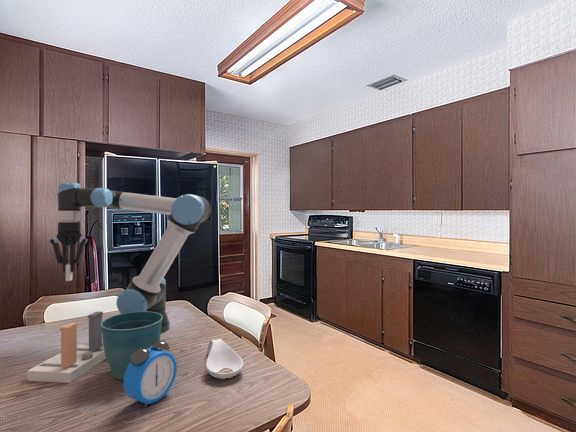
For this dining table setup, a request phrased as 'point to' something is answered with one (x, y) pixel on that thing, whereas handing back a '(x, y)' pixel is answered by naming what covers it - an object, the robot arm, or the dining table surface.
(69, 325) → the terracotta paddle
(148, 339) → the flower pot
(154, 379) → the alarm clock
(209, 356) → the spoon rest
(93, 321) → the gray capped upright block
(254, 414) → the dining table surface
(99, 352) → the console
